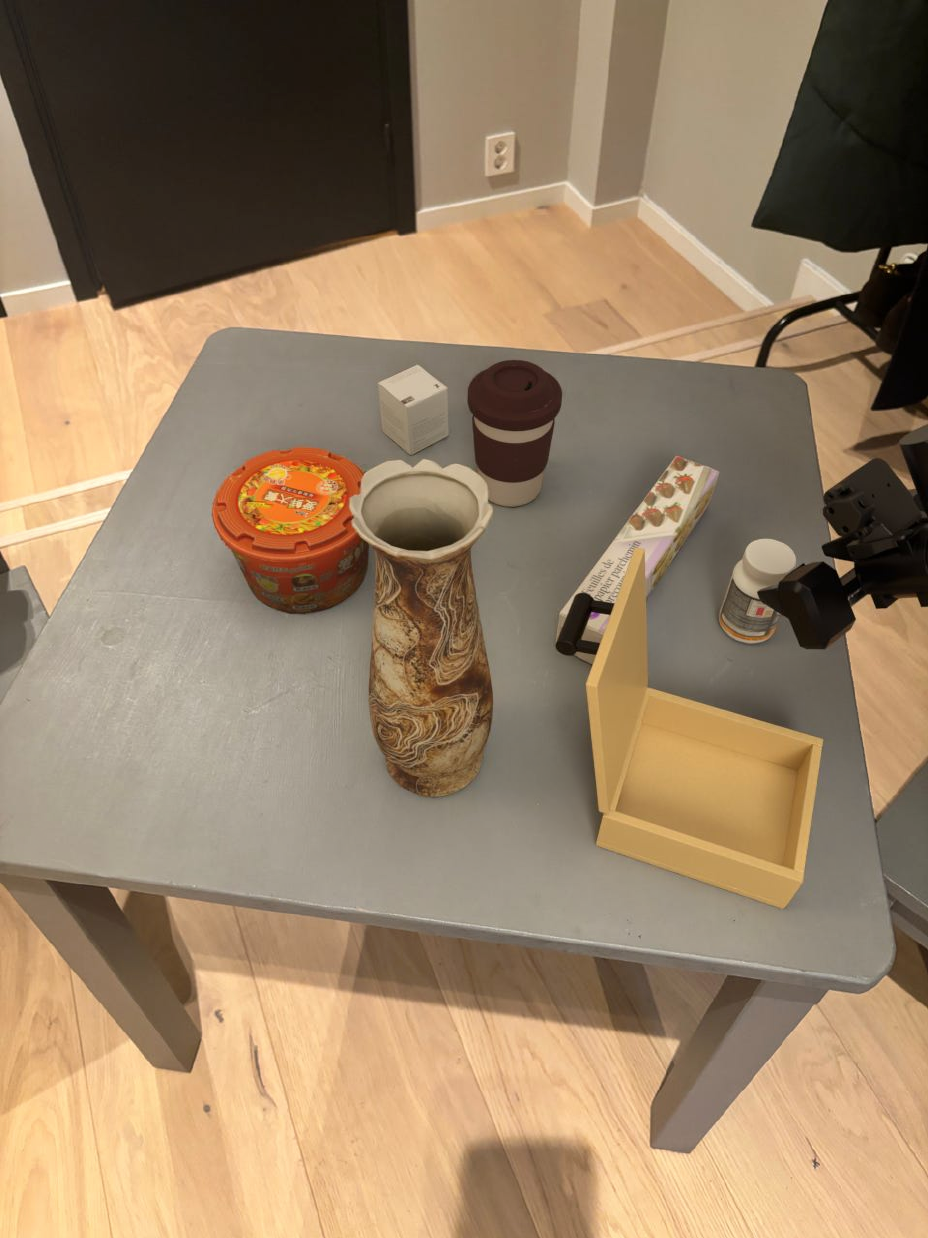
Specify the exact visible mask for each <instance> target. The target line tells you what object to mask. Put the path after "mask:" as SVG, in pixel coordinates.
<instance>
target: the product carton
mask: <svg viewBox="0 0 928 1238" xmlns="http://www.w3.org/2000/svg"><path fill="white" fill-rule="evenodd" d="M377 390H378V399H379V409H380V418H381V419H380V420H381V430H382V432H383V433H384V434H385V435H386V436H387V437H388V438H390V439H391V440H392V441H393V442H394V443H395V444H397V445H398V446H399V447H400V448H401V449H402V450H403V451H405V453H407V454H408V455H409V456H412V455H415V454H416V453H419V452H420V451H422V450H424V449H426V448H428V447H430V446H431V445H433V444H435V443H438V442H440V441H441V440H443V439H445V438H447V437H449V436H450V430H449V427H450V426H449V388H448V386H447V385H445V384H443V383H442V382H441V381H439V380H438V379H437V378H436V377H434V376H433V375H431V374H430V373H429V372H428V371H427V370H426V369H424V368H423V367H422V366H420V365H419V364H416V365H414V366H412V367H410V368H407V369H405V370H402V371H401V372H399V373H396V374H394V375H391V376H390V377H388V378H385V379H383V380H381V381H379V382H377Z"/></svg>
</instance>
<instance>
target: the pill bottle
mask: <svg viewBox="0 0 928 1238" xmlns="http://www.w3.org/2000/svg"><path fill="white" fill-rule="evenodd" d="M796 564H797V556H796V554H795V553H794V550H793V549H792V548H791V547H790V546H788V545H787V544H786V543H784V542H782V541H780V540H777V539H772V538H759V539H756V540H753V541H751V542H750V543H748V545H747V546H746V548H745V550H744V553H743V555H742V558H741V559H740V560H739V561H738V562H736V564H735V565H734V568H733V569H732V573H731V575H730V579H729V581H728V585H727V588H726V591H725V594H724V597H723V600H722V603H721V606H720V609H719V612H718V613H719V614H718V622H719V625H720V628H721V629H722V630H723V632H725V634H726V635H727V636H729V637H730V638H732V639H733V640H735V641H737V642H740V643H744V644H759V643H763V642H765V641H767V640H769V639H770V638H771V637H772V636H773V635H774V634H775V632H776V629H777V627H778V625H779V622H780V620H781V618H782V615H781V614H780V613H778V612H776V611H775V610H773V609H772V608H770V607H768V606H767V605H765V604H763V603H762V602H761V601H760V599H759V597H758V594H757V591H759V590H760V589H763V588H766V587H769V586H773V585H777V584H779V581H781V580H782V579H783V578H784V577H785V576H786V575H787V574H789V573H790V572H792V571H793V570H794V569H796Z"/></svg>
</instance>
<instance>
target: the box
mask: <svg viewBox="0 0 928 1238" xmlns="http://www.w3.org/2000/svg"><path fill="white" fill-rule="evenodd" d="M719 475H720V471H719V470H716V469H713V468H712V467H710V466H707V465H703V464H700V463H698V462H696V461H692V460H691V459H687V458H686V457H682V456H679V455H675V457H674V458H673V459H672V460H671V462H670V463H669V465H668V466H667V468H666V469H665V470H664V472H663V473H662V474H661V476H660V477H659V478H658V480H657V481H656V482H655V483H654V485H653V486H652V488H651V489H650V491H649V492H648V493H647V495H646V496H645V497H644V498H643V500H642V501H641V502H640V504H639V505H638V506H637V508H636V509H635V511H634V512H633V513H632V515H631V516H630V517H629V519H628V520H627V522H626V523H625V524H624V525H623V527H622V528H621V530H620V531H619V532H618V534H617V535H616V536H615V538H614V539H613V540H612V542H611V543H610V545H608V547H607V548H606V550H605V551H604V553H603V554H602V555H601V557H600V558H599V559H598V561H597V562H596V563H595V565H594V566H593V567H592V569H591V570H590V572H589V573H588V574H587V576H586V577H584V580H583V581H582V582H581V584H580V585H579V586H578V588H577V589H576V590H575V592H574V593H573V594H572V596H571V597H570V598H569V600H568V601H567V602H566V604H565V605H564V607H562V609H561V610H560V611H559V615H558V620H557V626H556V627H557V628H556V635H555V642H554V646H555V645H556V642H557V639H558V637H559V634H560V632H561V629H562V627H563V624H564V622H565V619H566V617H567V614H568V612H569V609H570V607H571V604H572V602H573V599H574V597H575V595H576V594H578V593H586V594H589V595H590V596H592V597H593V599H594V600H597V601H604V602H610V603H615V601H616V598H617V596H618V593H619V590H620V587H621V584H622V582H623V579H624V576H625V573H626V570H627V568H628V565H629V562H630V559H631V557H632V554H633V551H634V548H643V549H645V577H646V599H647V598H648V597H649V596H650V594H651V593H652V591H653V590H654V589H655V587H656V585H657V584H658V582H659V581H660V580H661V578H662V576H663V575H664V574H665V572H666V571H667V569H668V567H669V566H670V564H671V562H672V561H673V560H674V558H675V557H676V555H677V554H678V552H679V551H680V549H681V548H682V546H683V545H684V543H685V542H686V541H687V539H688V537H689V536H690V534H691V533H692V532H693V530H694V528H695V527H696V526H697V524H698V522H699V521H700V520H701V518H702V516H703V515H704V513H705V512H706V510H707V509H708V507H709V505H710V503H711V500H712V496H713V494H714V490H715V488H716V484H717V483H718V479H719ZM609 618H610V615H606V614H600V613H593V612H591V615H590V618H589V620H588V623H587V626H586V628H585V631H584V634H583V636H582V639H581V640H586V641H592V642H598V643H601V640H602V637H603V635H604V632H605V629H606V626H607V623H608V621H609ZM573 656H575V657H577V658H578V659H580V660H582V661H584V662H586V663H588V664H591V665H593V662H594V660H595V657H596V655H592V654H587V653H581V652H576V653H575V654H574V655H573Z"/></svg>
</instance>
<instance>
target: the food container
mask: <svg viewBox="0 0 928 1238" xmlns="http://www.w3.org/2000/svg"><path fill="white" fill-rule="evenodd" d="M365 473H366V472H365V471H364V470H363V469H361V467H360V466H359V465H357V464H356V463H355V462H353V461H352V460H350V459H349V458H348V457H346V456H341V455H340V454H336V453H334V452H330V450H328V449H323V448H319V447H313V446H312V447H309V446H293V447H291V448H290V449H285V450H283V449H280V450H279V449H274V450H270V451H266V452H264V453H260V454H258V455H256V456H254V457H252V458H250V459H248V460H246V461H245V462H244V463H243V464H242V466H240V467H239V468H237V469H236V470H235V471H233V472H231V473H229V475H228V476H227V477H226V478H225V479H224V481H223V482H222V483H221V484H220V486H219V488H218V489H217V491H216V493H215V496H214V499H213V502H212V508H211V517H212V523H213V526H214V529H215V531H216V533H217V534H218V536H219V538H220V541H222V542H223V543H224V545H225V546H226V547H227V549H228V550H230V551H231V553H232V555H233V558H234V559H235V561H236V563H237V566H238V567H239V569H240V571H241V574H242V575H243V577H244V579H245V581H246V583H247V585H248V587H249V590H250V591H251V592H252V594H253V595H254V597H255V598H256V599H257V600H258V601H260V603H262V604H263V605H265V606H267V607H269V608H271V609H274V610H275V611H280V612H282V613H287V614H290V615H291V614H292V615H295V614H296V615H297V614H298V615H306V614H313V613H319V612H323V611H326V610H328V609H331V608H334V607H336V606H338V605H340V604H342V603H343V602H345V601H346V600H347V599H349V598H350V597H351V596H352V595H353V594H354V593H355V592H356V591H357V590H358V589H359V588H360V587H361V585H362V583H363V582H364V580H365V577H366V575H367V571H368V565H369V546H370V545H369V544H368V543H367V542H366V541H365V540H363V539H362V538H361V537H360V536H359V535H358V534H357V532H356V531H355V530H354V528H353V527H352V525H351V521H352V519H353V518H354V517H353V515H352V513H351V511H350V509H349V498H350V497H352V496H354V495H359V494H360V487H361V479H362V477H363V475H364V474H365Z"/></svg>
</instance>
